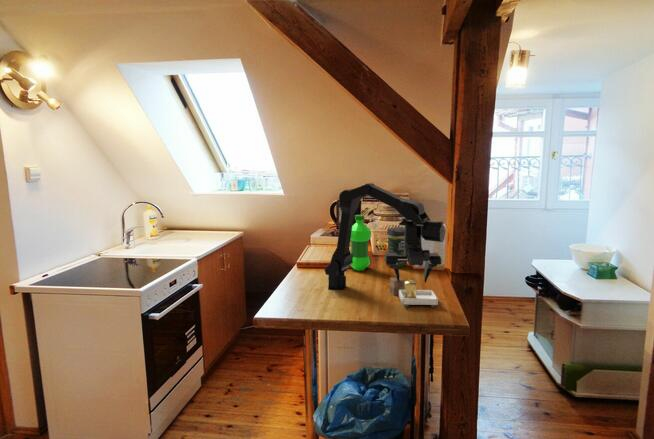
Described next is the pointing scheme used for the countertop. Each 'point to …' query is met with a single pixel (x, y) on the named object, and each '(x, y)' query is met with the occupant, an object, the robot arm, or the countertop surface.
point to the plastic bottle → (360, 244)
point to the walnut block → (396, 285)
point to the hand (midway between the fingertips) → (411, 282)
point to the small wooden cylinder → (410, 289)
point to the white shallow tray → (419, 298)
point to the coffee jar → (396, 243)
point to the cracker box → (434, 248)
